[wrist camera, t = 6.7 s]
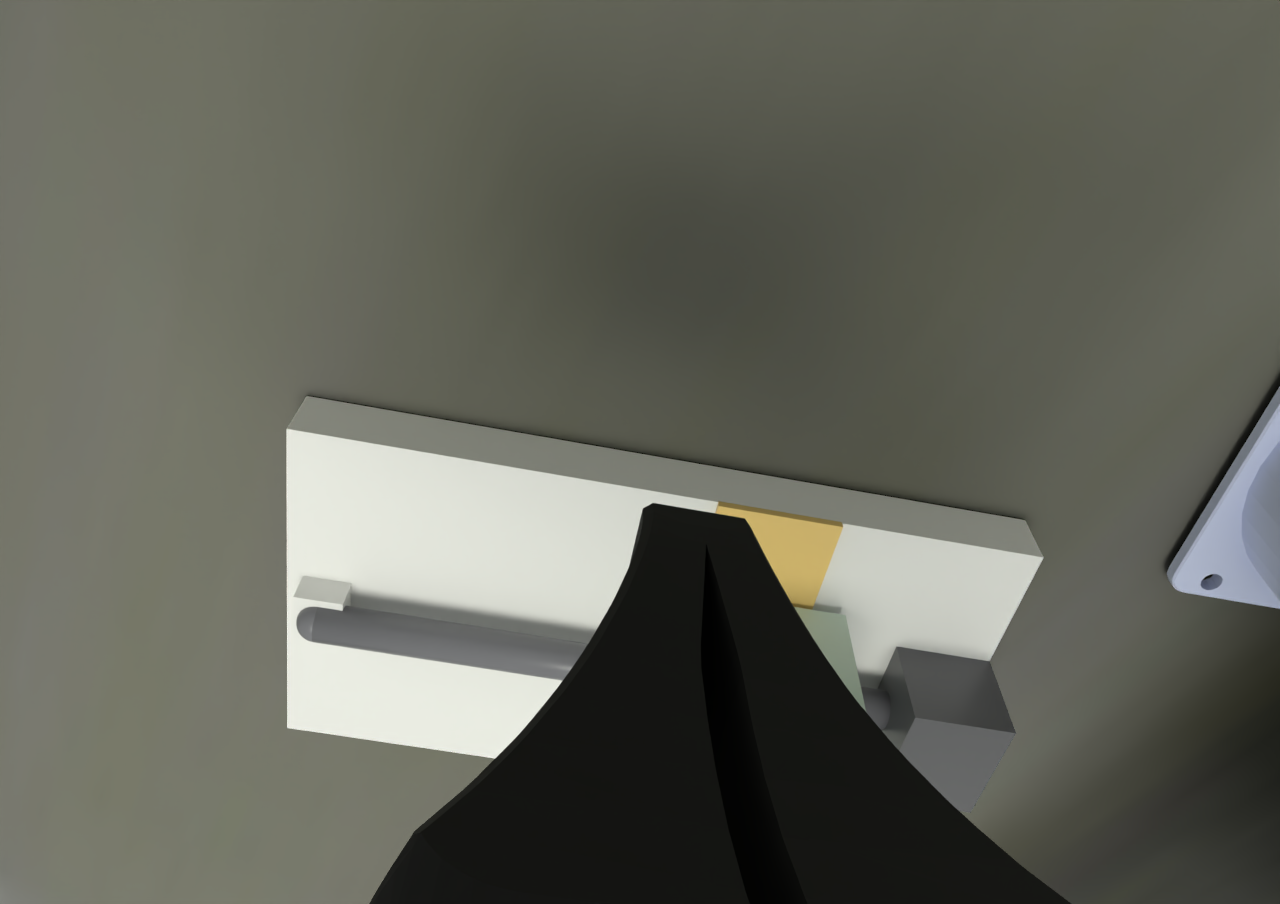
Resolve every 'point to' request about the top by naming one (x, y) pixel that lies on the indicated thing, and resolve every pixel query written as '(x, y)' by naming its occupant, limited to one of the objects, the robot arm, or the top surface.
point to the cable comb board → (607, 583)
